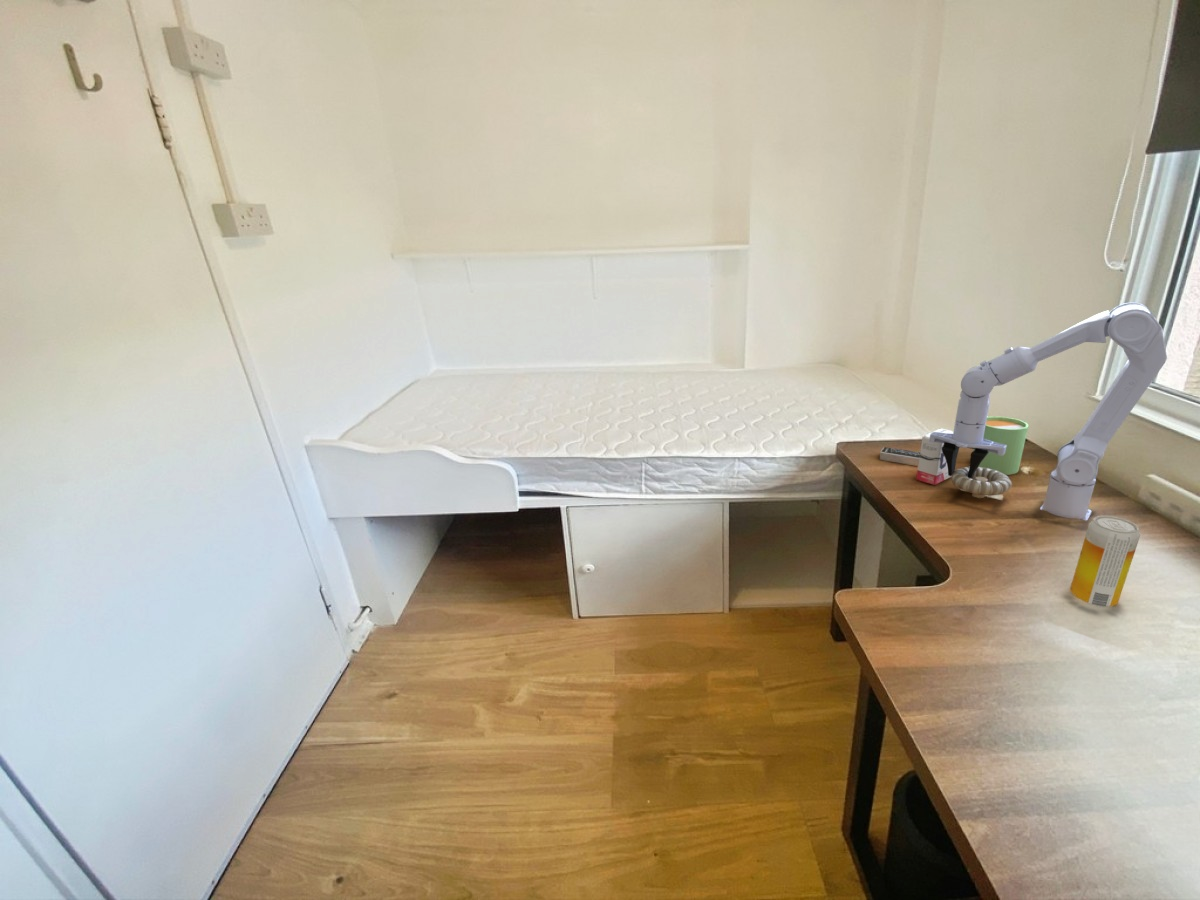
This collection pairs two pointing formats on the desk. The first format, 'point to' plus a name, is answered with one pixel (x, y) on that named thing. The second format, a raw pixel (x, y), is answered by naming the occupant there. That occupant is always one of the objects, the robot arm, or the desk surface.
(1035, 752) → the desk surface
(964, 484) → the ring
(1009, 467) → the mug
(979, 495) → the stand
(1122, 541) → the orange pill bottle
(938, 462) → the ink box
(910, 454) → the multiport hub
